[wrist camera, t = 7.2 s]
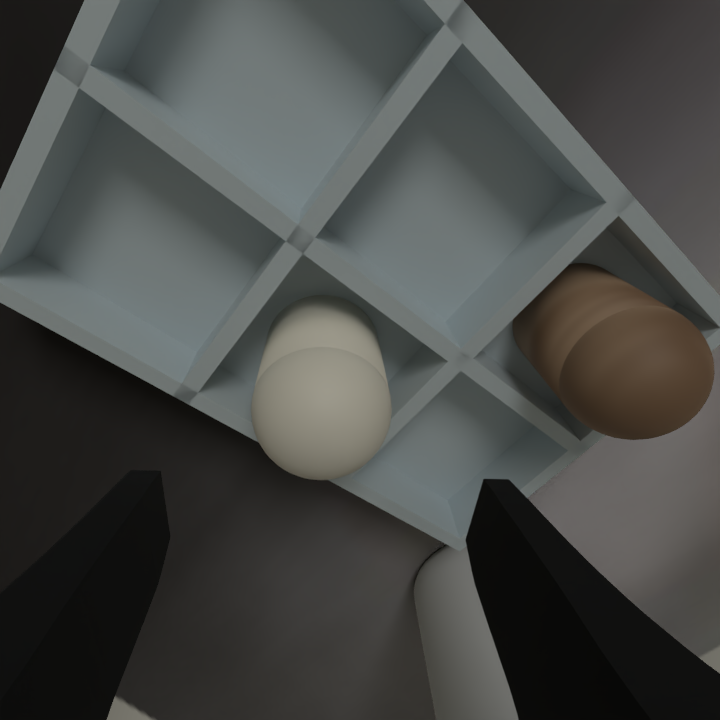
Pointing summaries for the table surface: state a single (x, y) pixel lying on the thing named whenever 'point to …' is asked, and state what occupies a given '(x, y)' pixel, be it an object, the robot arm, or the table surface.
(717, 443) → the table surface
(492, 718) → the milk bottle
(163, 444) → the table surface
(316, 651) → the table surface
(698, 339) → the walnut egg
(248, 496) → the table surface
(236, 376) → the egg carton
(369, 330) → the cream egg
